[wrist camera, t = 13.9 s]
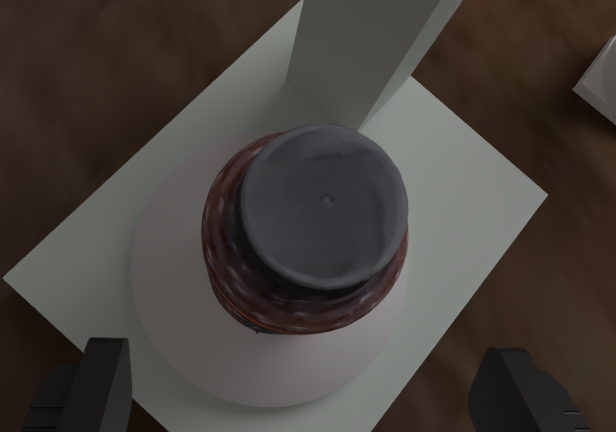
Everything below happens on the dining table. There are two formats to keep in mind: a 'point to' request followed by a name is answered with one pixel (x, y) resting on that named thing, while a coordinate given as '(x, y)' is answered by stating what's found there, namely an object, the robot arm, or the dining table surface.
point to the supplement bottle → (305, 230)
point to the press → (188, 242)
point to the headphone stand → (601, 82)
